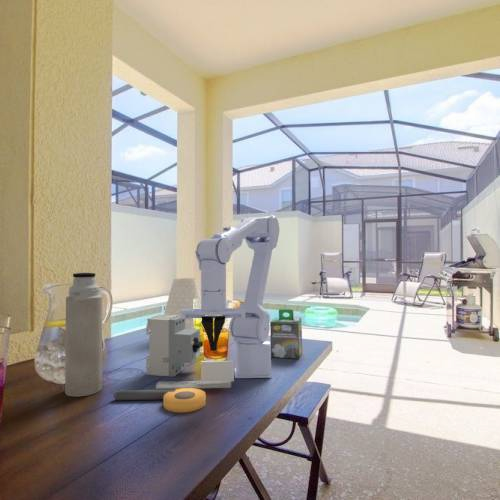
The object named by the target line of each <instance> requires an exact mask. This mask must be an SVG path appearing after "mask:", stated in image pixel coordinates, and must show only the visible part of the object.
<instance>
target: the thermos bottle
mask: <svg viewBox="0 0 500 500" xmlns="http://www.w3.org/2000/svg"><path fill="white" fill-rule="evenodd" d="M72 277H73V281H72V285H71V286H70V287H68V296H66V297H65V349H64V350H65V355H64V356H65V362H64V364H65V366H64V367H65V371H64V372H65V373H64V374H65V378H64V380H65V383H64V385H65V386H64V387H65V388H64V393H65V395H66V396H68V397H78V398H79V397H85V396H91V395H94V394H96V393H98V392H100V391H101V390H102V389H103V295H100V290H101V289H100V286H99V285H97V284H96V278H95V277H96V272H95V273H94V272H77V273H72Z"/></svg>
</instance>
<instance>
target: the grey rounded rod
mask: <svg viewBox="0 0 500 500" xmlns="http://www.w3.org/2000/svg"><path fill="white" fill-rule="evenodd" d="M174 391H176V389H136V390H135V389H132V390H131V389H129V390H116V391H115V392H114V393H113V399H115V401H139V400H140V401H142V400H143V401H147V400H151V401H152V400H163V397H164V395H165V394H166V393H168V392H174Z"/></svg>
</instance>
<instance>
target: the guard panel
mask: <svg viewBox="0 0 500 500" xmlns="http://www.w3.org/2000/svg"><path fill="white" fill-rule="evenodd" d="M200 381H201V382H216V381H231V382H235V361H234V360H201V362H200Z"/></svg>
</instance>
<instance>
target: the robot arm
mask: <svg viewBox="0 0 500 500" xmlns="http://www.w3.org/2000/svg"><path fill="white" fill-rule="evenodd" d="M280 231H281V230H280V223H279V219H278V218H277V217H276V216H275V215H269V216H266V215H265V216H253V217H249V216H246V217H245V216H244V218H241V221H240V223H239V224H237V225H236V226H235V227H231V226H230V225H229V226H226V225H225V226H224V227H223V228H222V230H221V231H220V232H218V233H217V232H215V233H214V234H213V235H212V237H210V238H204V239H201V241H198V243H197V246H196V250H195V257H196V259H197V262H198V269H199V271H200V295H201V309H182V311H181V319H186V318H202V321H201V323H202V325H203V327H204V328H203V330H204V331H205V334H206V337H207V339H208V344H209V349H210V352H216V351H218V342H219V337H220V335H221V332H222V330H223V328H224V325H225V323H226V319H230V321H229V324H228V326H229V327H228V328H229V333H230V334H229V335H230V336H231V337H232V338H233V341H234V342H235V348H236V349H235V364H236V365H235V367H234V379H266V378H267V379H270V378H272V359H271V358H272V357H271V340H266V339H267V338H268V336H269V335H270V320H271V317H270V314H269V312H268V311H267V310H266V309H265V308H264V307H263V303H264V296H265V291H266V287H267V283H268V282H267V280H268V275H269V271H270V266H271V259H272V253H273V250H274V249H275V248H277V247H278V242H279V235H280ZM243 240H245V242H246V245H247V247H248V248H250V249H251V250H253V258H252V261H251V268H250V271H249V276H248V281H247V286H246V292H245V297H244V301H243V303H242V304H241V305H239V306H238V307H236V308H232V307H231V308H229V307H228V308H227V282H226V281H227V263H229V262H230V260H231V256H232V255H233V253H234V252H235V251H236V250H237V249H239V248H240V247H241V246H242V245H243ZM205 315H206V316H205Z"/></svg>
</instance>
